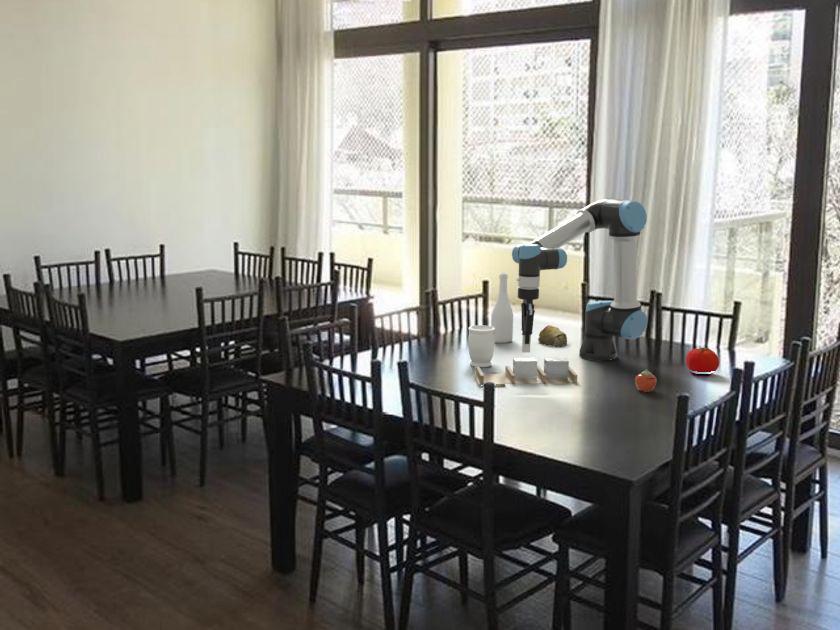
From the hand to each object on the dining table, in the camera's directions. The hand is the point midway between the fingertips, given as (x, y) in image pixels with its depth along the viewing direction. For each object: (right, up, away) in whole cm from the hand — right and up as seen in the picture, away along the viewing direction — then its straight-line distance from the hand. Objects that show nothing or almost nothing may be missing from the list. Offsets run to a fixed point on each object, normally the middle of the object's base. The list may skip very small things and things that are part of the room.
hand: (526, 352), depth 316 cm
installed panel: (+11, -10, +3) cm, 15 cm away
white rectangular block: (0, -10, +2) cm, 10 cm away
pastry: (+19, +1, +65) cm, 68 cm away
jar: (-15, -6, +25) cm, 29 cm away
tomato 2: (+68, -9, +16) cm, 71 cm away
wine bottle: (-3, +2, +68) cm, 68 cm away
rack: (0, -11, +2) cm, 11 cm away
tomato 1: (+41, -14, -9) cm, 44 cm away
